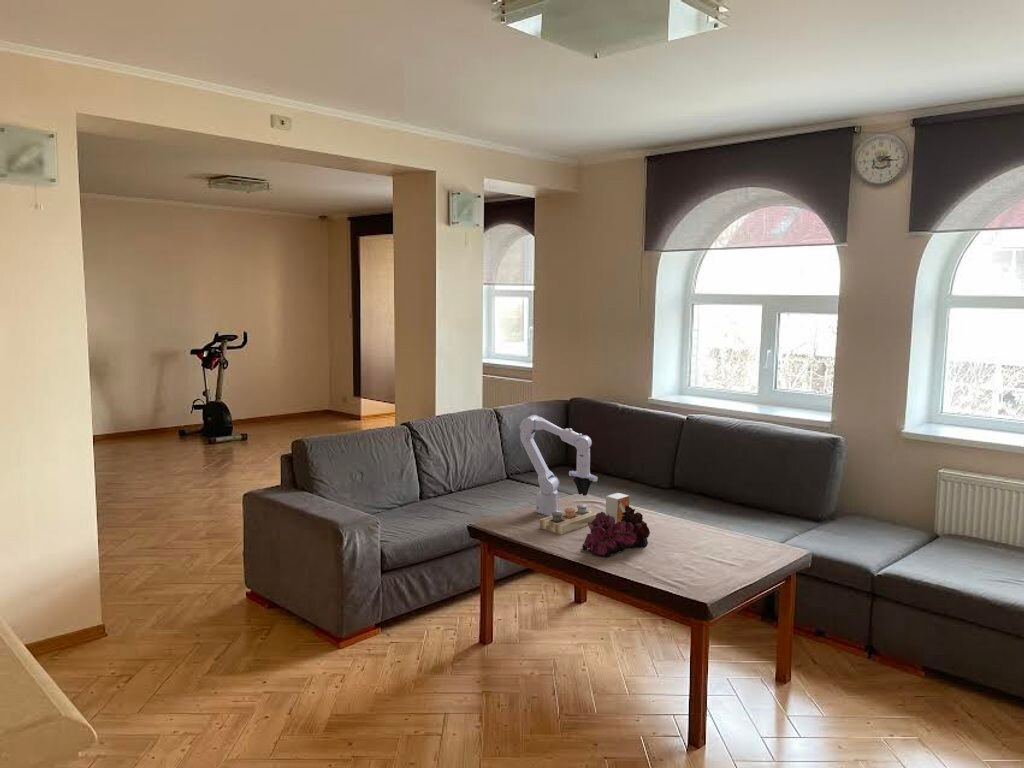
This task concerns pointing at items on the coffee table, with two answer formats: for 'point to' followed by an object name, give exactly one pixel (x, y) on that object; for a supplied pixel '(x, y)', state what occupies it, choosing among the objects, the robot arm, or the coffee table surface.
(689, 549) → the coffee table surface
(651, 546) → the coffee table surface
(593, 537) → the flower arrangement
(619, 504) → the small box
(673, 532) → the coffee table surface
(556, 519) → the plunger charcoal
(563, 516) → the button board
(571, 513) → the plunger terracotta
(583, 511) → the knob
